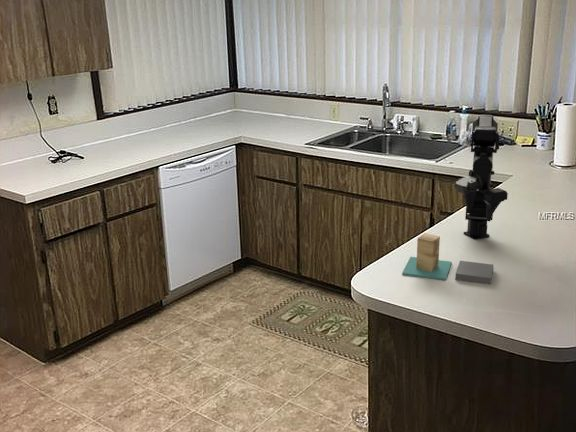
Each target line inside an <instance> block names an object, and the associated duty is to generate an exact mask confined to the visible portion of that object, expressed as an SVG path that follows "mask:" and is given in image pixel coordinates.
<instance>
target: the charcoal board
mask: <svg viewBox="0 0 576 432" xmlns="http://www.w3.org/2000/svg"><path fill="white" fill-rule="evenodd" d="M493 271H494V264H493V263H492V264H490V263H483V262H475V261H467V260H466V261H465V260H459V263H458V265H457V268H456V271H455V278H454V279H455V281H461V282H471V283H479V284H486V285H491V282H492V278H493Z"/></svg>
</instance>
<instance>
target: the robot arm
mask: <svg viewBox="0 0 576 432" xmlns="http://www.w3.org/2000/svg"><path fill="white" fill-rule="evenodd" d="M471 128H472V129H471V143H470V144H471V145H470V152H471V153H473V159H472V160H473V162H472V169H469V172H468V174H467V176H464V177H461V178H460V177H459V178H457V179H456V181H455V182H454V188H456V189H457V192H458V193H461V194H462V195H463V196H462V197H463V198H464V201H465V202H464V203H465V216H464V217H465V219H464V220H465V221H467V230H466V231H463V235H465V236H468V237H469V238H471V239H473V240H479V239H484V238H488V237H490V234H489V233H488V222H491V221H493V219H494V218H493V216H494V213H495V212H496V209H497V208H498V207H499V205H500V204H501V203H502V202H505V201H506V200H507V201H508V195H509V193H508V191H507V190H504V189H503V188H499V187H497V188H494V183H492V176H494V175H495V170H493V169H494V165H493V160H494V159H493V158H494V154H497V152H498V150H500V140H501V139H500V137H501V136H500V133H499V131H498V128H499V123H498V122H497V121H496V120H495V119H494V115H492V114H480V115H478V116H477V119H475V120H474V121H473V122H472V125H471Z"/></svg>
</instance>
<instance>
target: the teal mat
mask: <svg viewBox="0 0 576 432" xmlns="http://www.w3.org/2000/svg"><path fill="white" fill-rule="evenodd" d="M416 263H417V256H416V257H415V256H410V257H409V258H408V261H407V263H406V265H405V267H404V268H403V271H402V272H401V275H402V276H410V277H418V278H424V279H432V280H440V281H446V280H447V277H448V275H449V273H450V269H451V266H452V261H451V260H450V261H448V260H441V259H439V260H438V267H437V268H435V269H434V270H433V271H432V272H430V271H426V270H422V269H417V268H416Z"/></svg>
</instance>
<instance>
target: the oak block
mask: <svg viewBox="0 0 576 432" xmlns="http://www.w3.org/2000/svg"><path fill="white" fill-rule="evenodd" d="M440 238H441V237H440V236H439V235H435V234H431V233H423V234H422V235H420V236H418V237H417V244H416V245H417V247H416V257H417V263H416V268H417V269H422V270H426V271H430V272H432V271H433V270H434V269H435V268H437V267H438V260H440V259H439V258H440V257H439V256H440V242H441V239H440Z"/></svg>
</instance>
